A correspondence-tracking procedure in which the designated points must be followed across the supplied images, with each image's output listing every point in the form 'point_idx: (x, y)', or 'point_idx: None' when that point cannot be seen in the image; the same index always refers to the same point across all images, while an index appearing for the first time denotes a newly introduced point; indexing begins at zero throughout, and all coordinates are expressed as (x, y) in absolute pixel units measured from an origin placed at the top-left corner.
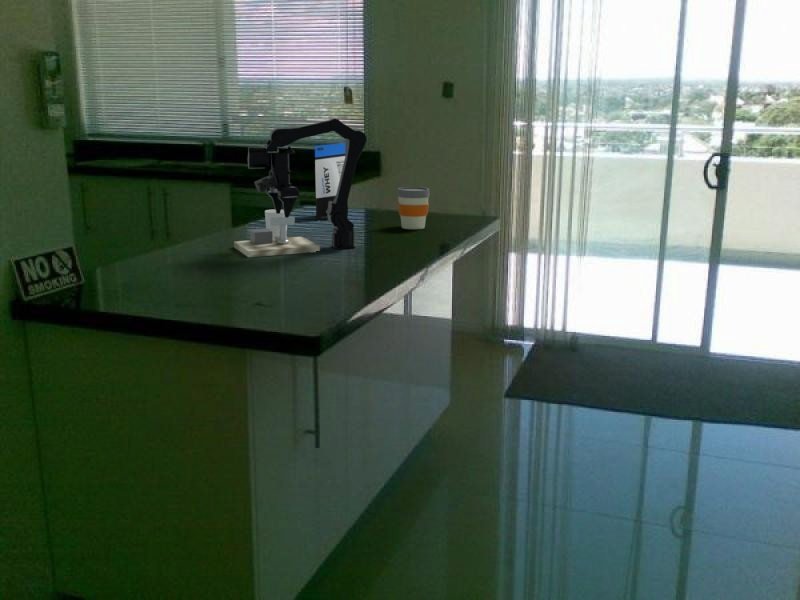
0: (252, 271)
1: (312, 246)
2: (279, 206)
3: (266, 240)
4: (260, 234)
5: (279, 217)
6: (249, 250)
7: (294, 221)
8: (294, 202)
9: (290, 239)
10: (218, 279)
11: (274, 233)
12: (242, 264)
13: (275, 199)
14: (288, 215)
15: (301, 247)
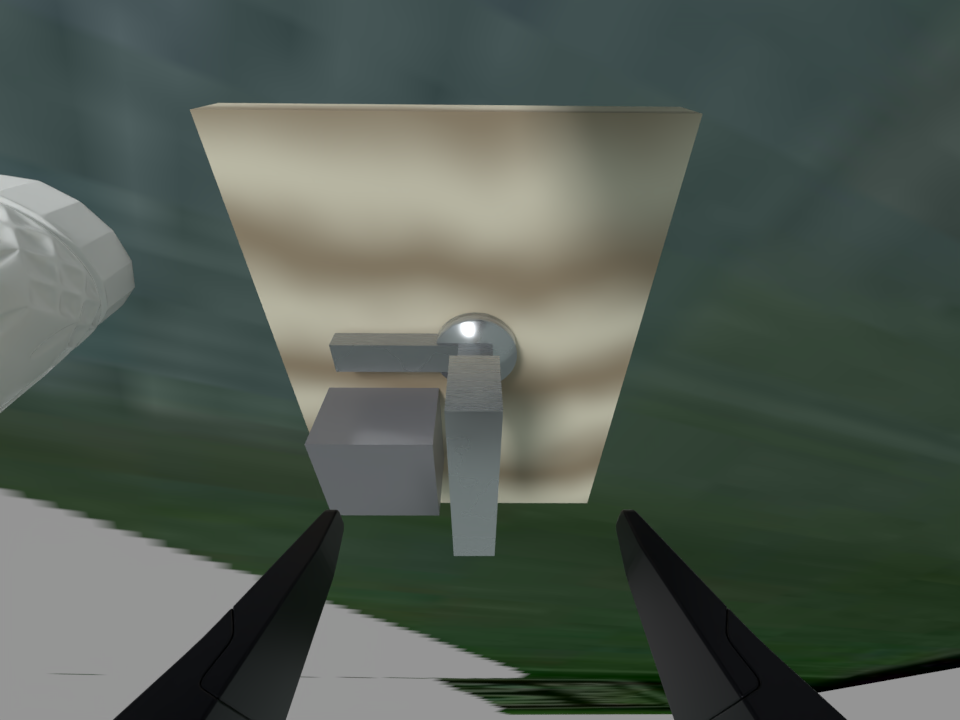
0: (813, 510)
1: (680, 187)
2: (310, 588)
3: (440, 428)
4: (437, 482)
5: (458, 510)
6: (574, 497)
7: (499, 379)
8: (816, 697)
9: (330, 255)
10: (815, 574)
11: (99, 306)
12: (685, 511)
13: (275, 715)
14: (646, 529)
15: (654, 275)
